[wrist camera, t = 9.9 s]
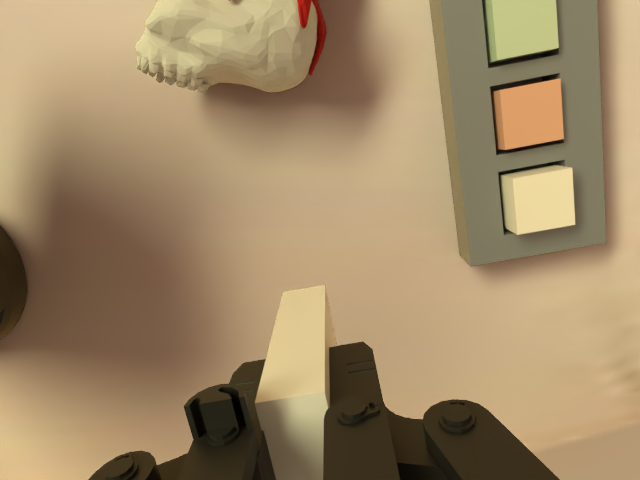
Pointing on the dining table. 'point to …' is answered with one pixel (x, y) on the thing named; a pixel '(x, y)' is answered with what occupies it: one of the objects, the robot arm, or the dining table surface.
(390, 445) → the robot arm
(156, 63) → the candle
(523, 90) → the key terracotta
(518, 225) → the key ivory
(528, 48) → the key sage
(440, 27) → the keypad
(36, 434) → the dining table surface
